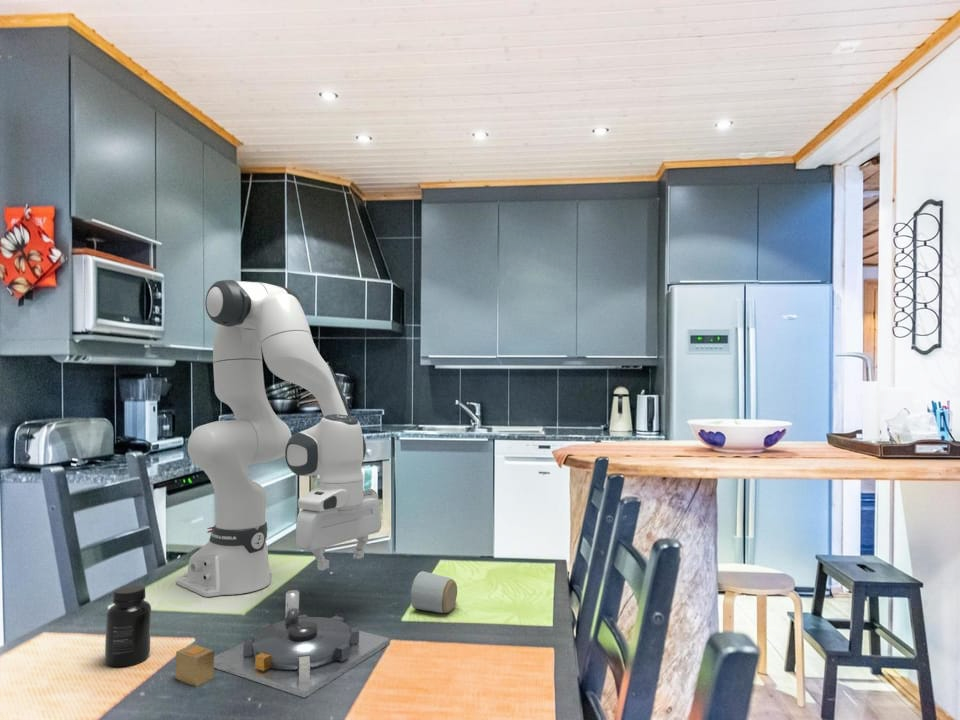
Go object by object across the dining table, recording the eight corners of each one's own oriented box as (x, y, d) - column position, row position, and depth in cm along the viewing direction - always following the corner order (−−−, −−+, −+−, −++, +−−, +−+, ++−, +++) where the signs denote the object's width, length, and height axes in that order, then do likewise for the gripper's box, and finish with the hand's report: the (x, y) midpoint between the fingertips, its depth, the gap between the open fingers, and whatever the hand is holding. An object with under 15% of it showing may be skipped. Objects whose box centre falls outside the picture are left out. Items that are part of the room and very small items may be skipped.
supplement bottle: (159, 654, 108) (161, 585, 109) (125, 671, 102) (127, 598, 102) (129, 648, 111) (131, 580, 111) (94, 664, 104) (97, 593, 104)
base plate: (207, 665, 104) (207, 641, 104) (300, 621, 124) (301, 601, 124) (304, 697, 94) (305, 671, 94) (389, 643, 113) (390, 622, 114)
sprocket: (218, 656, 105) (219, 612, 105) (300, 617, 122) (301, 579, 122) (304, 684, 96) (305, 635, 96) (380, 637, 113) (381, 596, 113)
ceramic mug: (444, 619, 125) (445, 581, 126) (409, 613, 128) (410, 576, 129) (464, 603, 135) (465, 567, 136) (431, 597, 138) (431, 563, 139)
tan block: (175, 679, 99) (176, 650, 100) (192, 671, 102) (193, 643, 102) (196, 687, 97) (197, 657, 97) (213, 678, 100) (214, 649, 100)
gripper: (367, 486, 135) (367, 550, 134) (290, 501, 118) (290, 573, 117) (388, 488, 131) (388, 554, 131) (312, 504, 115) (312, 579, 114)
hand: (341, 563), depth 124 cm, fingers open, 8 cm apart
